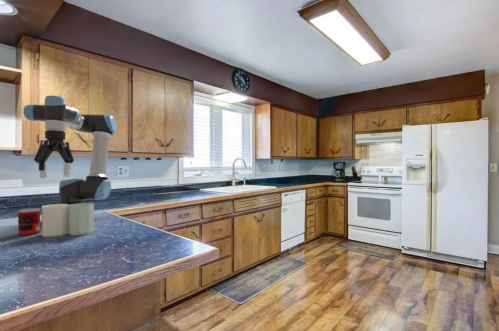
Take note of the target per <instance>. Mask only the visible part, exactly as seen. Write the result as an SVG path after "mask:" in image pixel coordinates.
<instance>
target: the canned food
mask: <svg viewBox="0 0 499 331" xmlns="http://www.w3.org/2000/svg"><path fill="white" fill-rule="evenodd" d="M40 209H41V208H35V207H34V208H23V209H19V210H18V211H17V212H18V213H17V214H18V216H17V217H18V218H17V219H18V220H17V221H18V224H17V225H18V227H17V228H18V230H17V232H18V235H19V236H21V237H25V236H26V237H27V236H34V235H38V234H40V232H41V210H40Z"/></svg>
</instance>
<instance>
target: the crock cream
mask: <svg viewBox="0 0 499 331" xmlns="http://www.w3.org/2000/svg"><path fill="white" fill-rule="evenodd" d="M67 234H69V233H68V204H59V203H56V204H55V203H54V204H46V205H41V236H42V237H45V238H52V237H59V236H64V235H67Z"/></svg>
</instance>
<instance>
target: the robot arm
mask: <svg viewBox="0 0 499 331" xmlns="http://www.w3.org/2000/svg"><path fill="white" fill-rule="evenodd" d="M22 109H23V113H22V114H23V116H24V118H25V119H26V120H28V121H33V122H34V121H35V122H36V121H39V122H44V129H45V131H44V139H40V141H39V147H38V149H37V151H36V154H35V156H34V159H33V161H34V162H35V163H37V164H38V170H39V179H47V178H48V163H47V160H48V159H49V158H50V157H51V154H52V153H53V152H56V153H58V154H59V156H60V157H61V159H62V160H63V161H64V162H63V163H62V164H63V177H71V164H72V163H73V162H75V159H74V157H73V153H72V151H71V147H70V142H69V141H67V142H66V141H64V140H66V129H67V128H69V129H71V130H74V131H78V132H83V133H88V134H91V135H92V136H93V142H92V149H91V150H92V151H91V159H90V165H89V166H90V167H89V174H88V175H86V177H85V179H84V178H83V177H77V178H69V179H64V180H63V179H62V180H60V182H59V187H58V191H59V195H58V196H59V200H58V201H59V203H58V204H68V205H72V204H79V203H84V201H89V200H90V201H91V200H94V201H95V200H96V201H98V200H106V199H107V198H108V197H109V196H110V194H111V191H112V182H111V180H109V177H108V176H107V175H106V173H107V166H108V165H107V164H108V156H109V145H110V139H112V137H113V134H116V133H117V131H118V126H117V121H116V119H115V118H114V116H113V115H110V114H88V113H87V114H81V112H80V111H79V110H78V109H77V108H75V107H73V106H72V105H68V104H67V103H66V99H65V97H63V96H58V95H46V96H45V98H44V103H43V104H35V103H33V104H27V105H25V106H24V107H23V108H22ZM66 127H67V128H66Z"/></svg>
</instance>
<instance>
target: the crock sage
mask: <svg viewBox="0 0 499 331" xmlns="http://www.w3.org/2000/svg"><path fill="white" fill-rule="evenodd" d="M94 231H95V204H94V203H92V202H83V203H79V204H72V205H68V233H67V234H68V235H69V236H82V235H83V236H84V235H88V234H93V233H94Z"/></svg>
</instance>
